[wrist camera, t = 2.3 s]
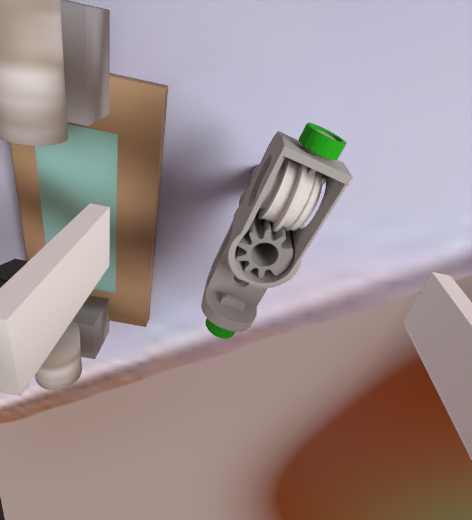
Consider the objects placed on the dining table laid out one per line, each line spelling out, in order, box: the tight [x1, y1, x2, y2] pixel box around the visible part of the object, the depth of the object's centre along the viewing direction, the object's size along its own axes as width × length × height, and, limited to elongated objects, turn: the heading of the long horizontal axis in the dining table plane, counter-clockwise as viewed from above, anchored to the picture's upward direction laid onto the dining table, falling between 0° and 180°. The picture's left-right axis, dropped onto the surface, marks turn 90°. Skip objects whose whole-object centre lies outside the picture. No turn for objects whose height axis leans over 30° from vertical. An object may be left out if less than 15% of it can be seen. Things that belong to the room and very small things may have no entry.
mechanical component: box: [202, 123, 352, 338], centre depth 19 cm, size 3×10×10 cm, turn 157°
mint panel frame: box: [0, 0, 168, 390], centre depth 22 cm, size 23×9×7 cm, turn 169°
